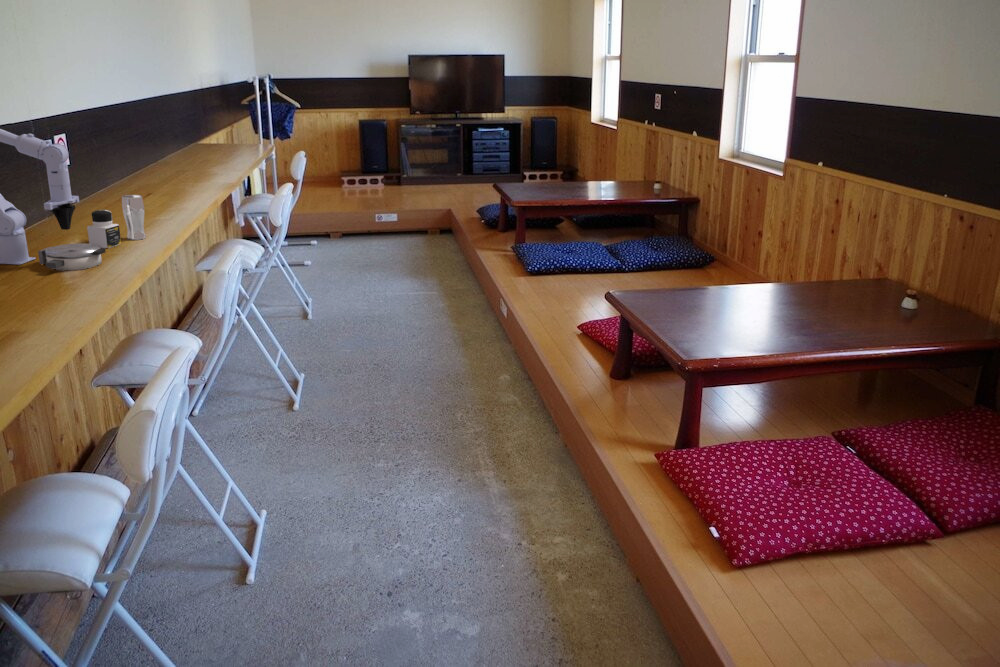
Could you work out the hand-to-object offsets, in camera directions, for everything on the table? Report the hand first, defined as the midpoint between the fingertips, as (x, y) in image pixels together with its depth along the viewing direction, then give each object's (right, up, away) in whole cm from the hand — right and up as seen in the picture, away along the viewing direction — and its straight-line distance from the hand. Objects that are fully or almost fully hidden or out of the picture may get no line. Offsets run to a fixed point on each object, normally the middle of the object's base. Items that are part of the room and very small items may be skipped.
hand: (65, 229), depth 245 cm
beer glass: (+5, +1, +36) cm, 37 cm away
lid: (+3, -7, -1) cm, 8 cm away
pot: (+3, -11, 0) cm, 11 cm away
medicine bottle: (0, -3, +24) cm, 24 cm away
